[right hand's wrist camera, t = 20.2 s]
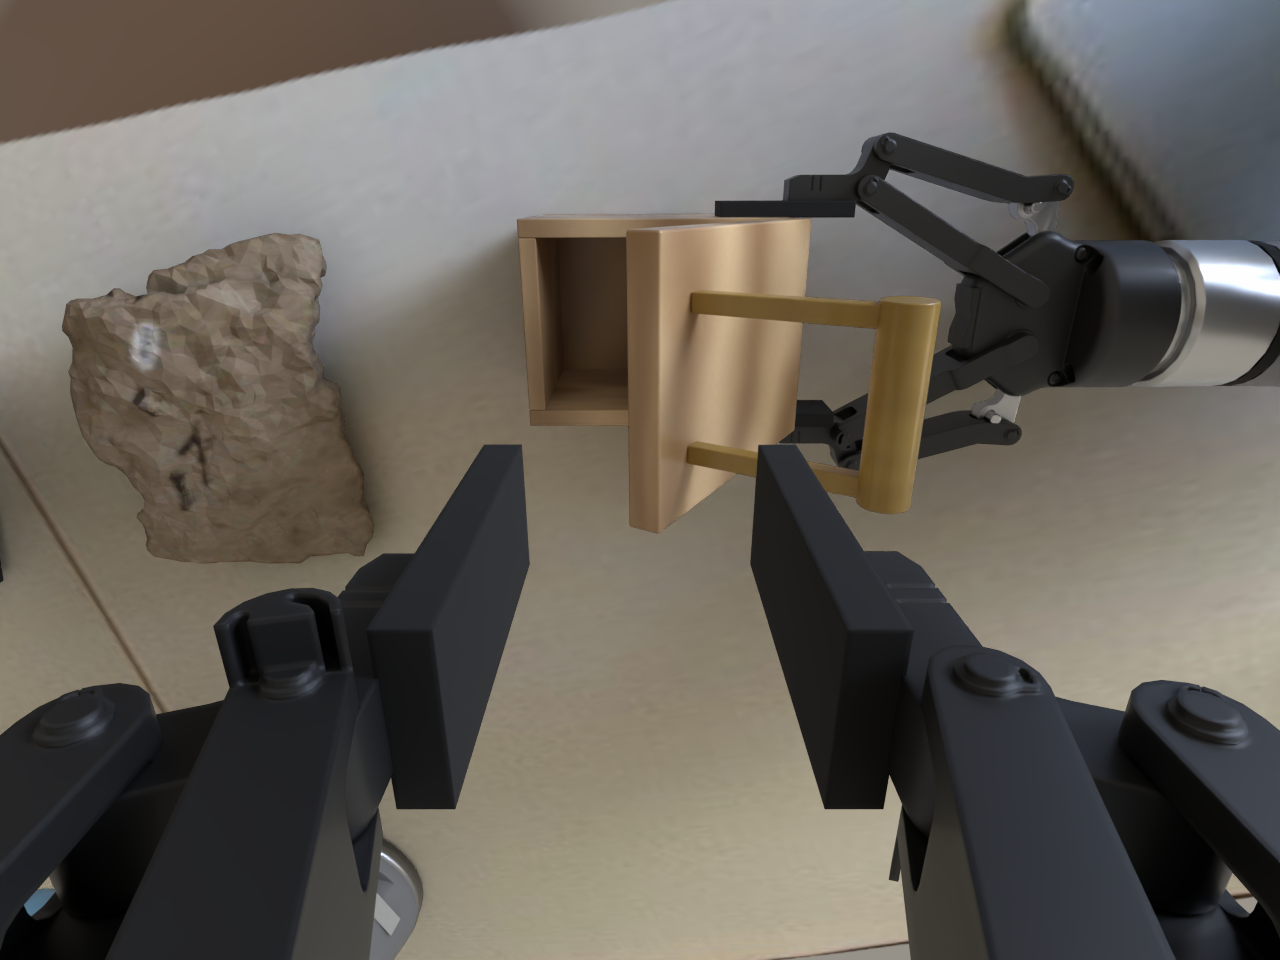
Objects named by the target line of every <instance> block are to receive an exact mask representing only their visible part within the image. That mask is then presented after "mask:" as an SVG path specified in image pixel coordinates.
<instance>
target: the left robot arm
mask: <svg viewBox="0 0 1280 960" xmlns="http://www.w3.org/2000/svg"><path fill="white" fill-rule="evenodd" d="M861 152H862V154H861V157H860V159H859V161H858V163H857V165H856V167H855V169H854V170H853V171H852V172H850V173H849V174H847V175H797V176H793V177H791V178H788V179H786V180H784V194H783V201H715V216H717V217H792V218H800V217H854V215H855V206H856V205H858V206H860V207H861V208H863V209H864V210H866V211H867V212H869V213H870V214H872V215H873V216H875V217H876V218H878V219H879V220H881V221H883V222H884V223H886V224H887V225H889V226H890V227H892V228H893V229H895V230H896V231H898V232H899V233H901V234H903V235H904V236H906V237H907V238H909V239H910V240H912V241H913V242H915V243H916V244H918V245H919V246H921V247H922V248H924V249H926V250H927V251H929V252H930V253H932V254H933V255H935V256H936V257H938V258H939V259H941V260H942V261H944V263H945V264H946V265H948V266H949V267H951V268H952V269H954V270H955V271H957V272H958V273H960V274H961V275H963V276H965V277H964V279H963V280H962V282H961V284H957V286H956V292H955V308H956V314H955V317H954V319H953V321H952V324H951V326H950V330H949V336H948V342H949V343H951V344H952V345H951V346H950V347H948V348H946V349H944V350H942V351H940V352H938V353H936V354H934V355H933V361H932V368H931V375H930V381H929V388H928V394H927V401H926V404H928V403H930V402H932V401H934V400H936V399H938V398H940V397H942V396H944V395H946V394H948V393H950V392H952V391H954V390H962V389H966V388H968V387H970V386H972V385H974V384H976V383H978V382H980V381H982V380H986V381H987V382H988V383H989V384H991V385H992V386H993V387H994V388H996V392H995V394H994V396H993V397H991V398H990V399H988V400H985V401H980V402H978V403H975V404H974V405H973V406H972V411H956V412H951V413H947V414H943V415H939V416H936V417H932V418H928V419H924V420H923V427H922V433H921V440H920V447H919V453H918V459H920V458H924V457H928V456H932V455H935V454H939V453H943V452H947V451H951V450H954V449H958V448H962V447H966V446H970V445H973V444H977V443H979V444H995V445H1012V444H1015V443H1016V442H1017V441H1018V440H1019V439H1020V437H1021V433H1022V431H1021V429H1020V427H1019V426H1017V425H1016V424H1014V422H1015V418H1016V414H1017V411H1018V407H1019V404H1020V400H1021V396H1023V395H1026V394H1029V393H1031V392H1032V391H1035V390H1037V389H1040V388H1044V387H1124V386H1128V385H1133V386H1135V387H1177V386H1280V241H1261V242H1260V241H1248V240H1163V241H1156V242H1153V243H1152V242H1150V241H1145V240H1069V239H1066V238H1065V237H1063V236H1062V235H1060V234H1059V233H1057V232H1056V226H1057V219H1058V212H1059V205H1060V201H1061V200H1065V199H1066V198H1067V197H1069V195H1070V194H1071V193H1072V191H1073V188H1074V181H1073V179H1072V177H1070V176H1069V175H1067V174H1054V175H1036V176H1024V175H1021V174H1018V173H1015V172H1011V171H1008V170H1005V169H1002V168H999V167H996V166H993V165H990V164H987V163H984V162H981V161H978V160H975V159H972V158H969V157H966V156H963V155H960V154H957V153H954V152H950V151H947V150H944V149H941V148H938V147H935V146H932V145H929V144H926V143H923V142H920V141H917V140H914V139H911V138H908V137H905V136H902V135H899V134H896V133H886V134H882V135H878V136H875V137H871V138H869V139H868V140H866V141H865V143H864V144H863V146H862V151H861ZM889 169H890V170H893V171H896V172H899V173H903V174H906V175H909V176H912V177H915V178H918V179H921V180H924V181H927V182H931V183H934V184H937V185H940V186H943V187H946V188H949V189H952V190H955V191H958V192H962V193H965V194H968V195H971V196H974V197H977V198H980V199H983V200H987V201H991V202H999V203H1009V205H1008V210H1009V214H1010V215H1011V217H1012V218H1014V219H1018V220H1021V221H1023V222H1024V223H1025V224H1026V227H1027V233H1025V234H1023V235H1021V236H1020V237H1018V238H1017V239H1015V240H1014V241H1012V242H1011V243H1009V244H1008V245H1006V246H1005V247H1003V248H1002V249H1001V250H999V251H998V252H995V251H993V250H992V249H990V248H988V247H986V246H984V245H981V244H979V243H978V242H976V241H974V240H973V239H971V238H970V237H968V236H967V235H965V234H964V233H962V232H961V231H959V230H958V229H956V228H955V227H953V226H952V225H950V224H949V223H947V222H946V221H944V220H943V219H941V218H940V217H938V216H937V215H935V214H934V213H932V212H931V211H929V210H928V209H926V208H925V207H923V206H922V205H920V204H919V203H917V202H916V201H914V200H913V199H911V198H910V197H908V196H907V195H905V194H904V193H902V192H901V191H899V190H898V189H896V188H895V187H893V186H892V185H890V184H889V183H887V182H886V181H884V180H885V178H886V175H887V173H888V171H889ZM867 402H868V393H867V394H865V395H863V396H861V397H860V398H858V399H856V400H854V401H852V402H850V403H848V404H846V405H844V406H842V407H841V408H839V409H837V410H835V411H833V412H832V411H831V410H830V408H829V407H828V406H827V405H826V404H825V403H824V402H823V401H822V400H797V403H796V416H795V428H794V431H793V432H791V433H790V434H789V435H787V436H786V437H785V438H783V439H782V440H781V441H779V442H778V443H824V444H828V445H829V447H830V455H831V457H832V459H833V460H834V462H835V463H836V464H837V466H838V467H841V468H846V469H852V470H857V471H859V468H860V460H861V451H862V443H863V435H864V427H865V418H866V410H867Z"/></svg>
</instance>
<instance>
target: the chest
mask: <svg viewBox="0 0 1280 960" xmlns="http://www.w3.org/2000/svg"><path fill="white" fill-rule="evenodd" d="M783 218H792V217H717V216H715V214H575V215H540V216H534V217H528V218H522V219H517V228H518V238H519V239H518V243H519V258H520V273H521V288H522V304H523V319H524V334H525V349H526V364H527V380H528V395H529V409H530V425H531V426H557V425H628V338H627V248H626V232H627V230H629V229H640V228H654V227H668V226H683V225H697V224H711V223H726V222H740V221H755V220H769V219H783Z"/></svg>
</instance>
